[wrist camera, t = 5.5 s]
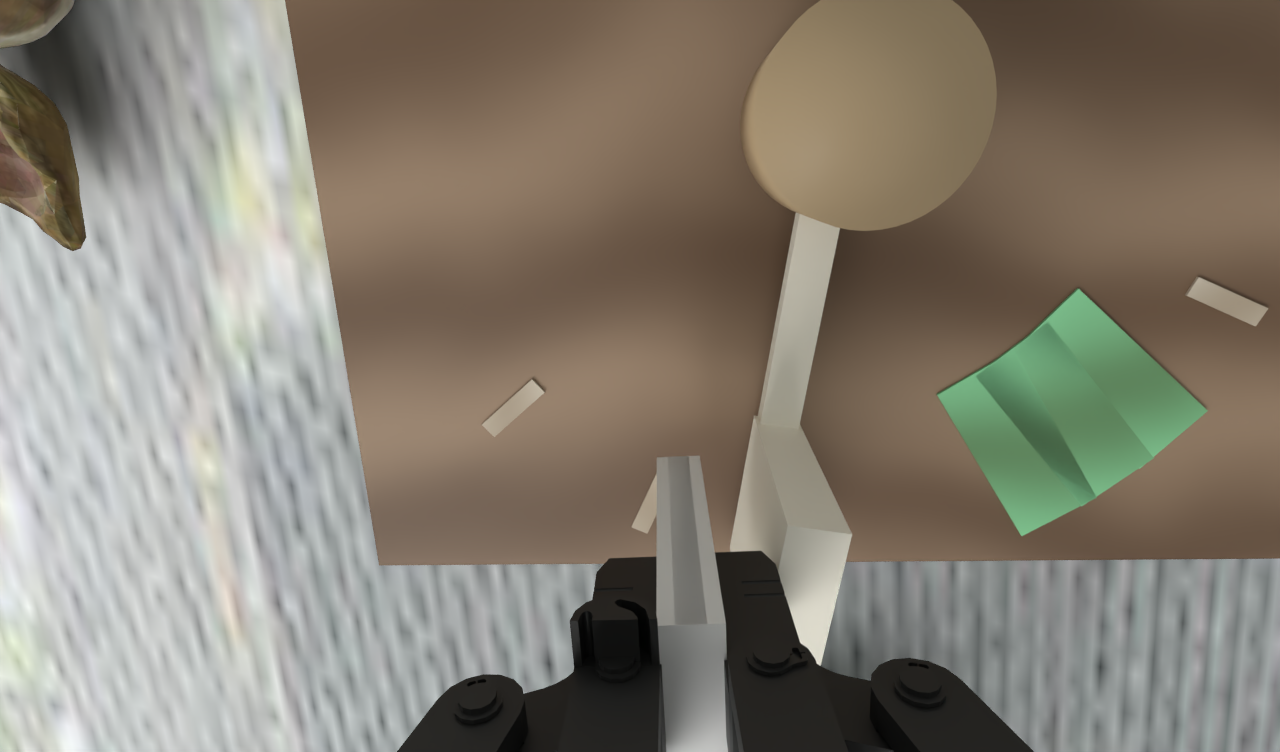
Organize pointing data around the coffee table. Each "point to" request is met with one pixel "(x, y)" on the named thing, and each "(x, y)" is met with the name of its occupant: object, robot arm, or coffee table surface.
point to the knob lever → (850, 199)
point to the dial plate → (754, 270)
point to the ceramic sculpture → (36, 133)
